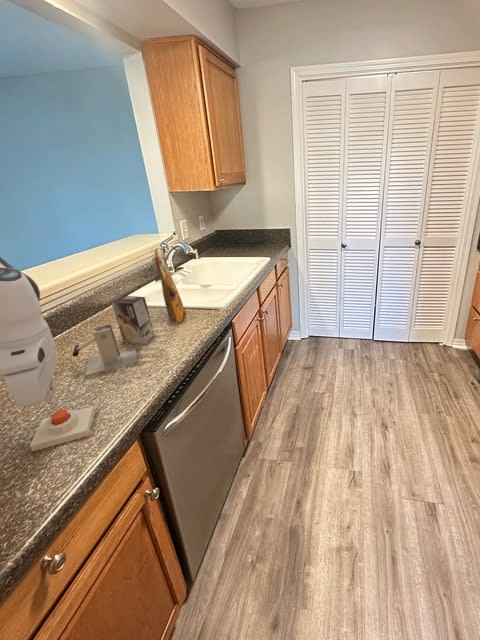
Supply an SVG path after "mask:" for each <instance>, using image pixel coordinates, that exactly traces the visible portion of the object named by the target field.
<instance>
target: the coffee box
mask: <svg viewBox="0 0 480 640" xmlns="http://www.w3.org/2000/svg"><path fill="white" fill-rule="evenodd" d="M111 306H112V309H113V312H114V315H115V316H114V317H115V319H116V322H117V325H118V329H119V331H120V335H121V338H122V341H123V342H128V343H136V344H137V343H138V344H145V343H147V342H148V341H149V340H151V339H152V338H154V336H155V331H154V327H153V324H152V320H151V316H150V312H149V309H148V305H147V301H146V297H145V296H135V295H134V296H133V295H132V296H131V295H122V296H120V297H118V298H117V299H115V300H114V301H111Z"/></svg>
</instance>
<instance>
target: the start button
mask: <svg viewBox="0 0 480 640" xmlns="http://www.w3.org/2000/svg"><path fill="white" fill-rule="evenodd" d="M67 410H68V409H59V410H57V411H55V412H54V413H52V414H51V416H50V417H51V419H52V422H53V424H54V425H58V424H62V423H63V422H65V421H67V420H68V419H69V414H68V412H67Z"/></svg>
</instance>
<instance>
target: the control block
mask: <svg viewBox="0 0 480 640" xmlns="http://www.w3.org/2000/svg"><path fill="white" fill-rule="evenodd" d="M66 410H67V412H68V414H69V419H68V420H67V421H65V422H63V423H62V424H58V425H54V424H53V422H52V419H51V416H50V417H46V418H42V419H41V421H40V423H39V425H38V427H37V429H36V431H35V433H34V435H33V437H32V440H31V442H30V444H29V448H30V450H31V452H35V451H39V450H42V449H45V448H50V447H53V446H56V445H60V444H64V443H68V442H71V441H74V440H79V439H82V438H85V437H89V435H90V431H91V428H92V424H93V421H94V417H95V413H96V409H95V407H94V406H89V407H86V408H82V409H78V410H77V409H76V410H74V409H66Z"/></svg>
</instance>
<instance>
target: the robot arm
mask: <svg viewBox="0 0 480 640" xmlns="http://www.w3.org/2000/svg"><path fill="white" fill-rule="evenodd" d="M40 299H41V290H40V288H39V285H38V284H37V282H35V280H33V279H32V277H30V275H29V276H28V274H26V273H24V272H22V270H21V271H20V270H18V268H16V267H14V266H13V265H11V264H10V263H8V262H7V261H6V260H4V259H3V258H2V256H0V376H4V381H5V384H6V387H7V389H8V391H9V393H10V394H11V396H12V398H13V400H14V401H15V403H16V404H17V405H18V407H21V408H22V409H23V408H30V407H33V406H37V405H41V404H43V402H46V403H47V402H50V401H53V400H54V397H55V394H56V390H55V386H54V377H53V375H54V372H55V370H56V368H57V364H58V362H59V359H60V356H59V352H58V349H57V347H56V342H55V340H54V337H53V334H52V331H51V329H50V326H49V324H48V322H47V321H46V320H45V318H44V317H43V315H42V306H41V303H40Z"/></svg>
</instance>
